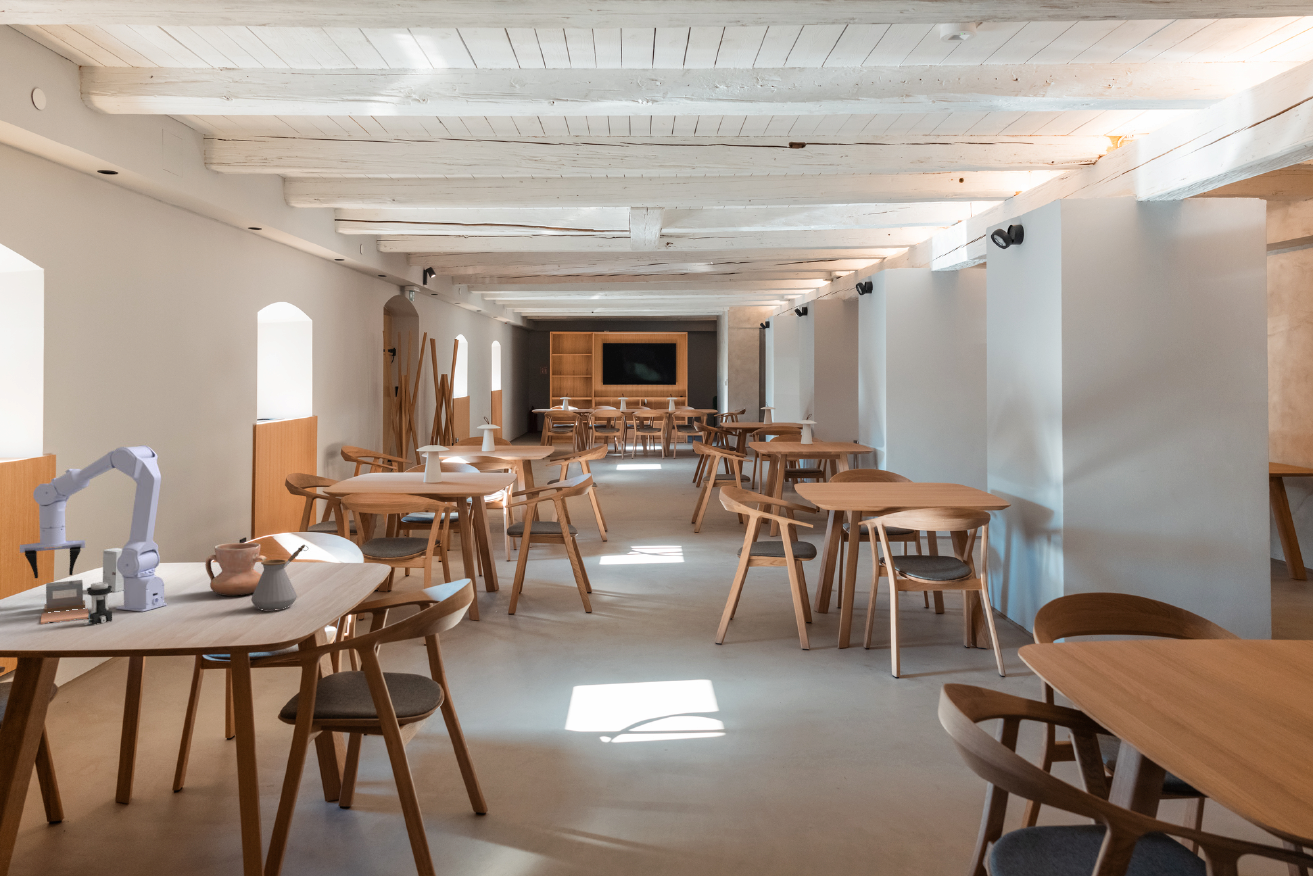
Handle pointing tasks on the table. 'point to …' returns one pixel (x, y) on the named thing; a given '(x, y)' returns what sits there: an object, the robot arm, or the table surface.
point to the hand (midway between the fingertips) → (53, 576)
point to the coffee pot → (275, 585)
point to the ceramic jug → (235, 568)
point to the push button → (99, 603)
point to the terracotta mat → (64, 615)
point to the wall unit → (64, 596)
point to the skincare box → (112, 569)
